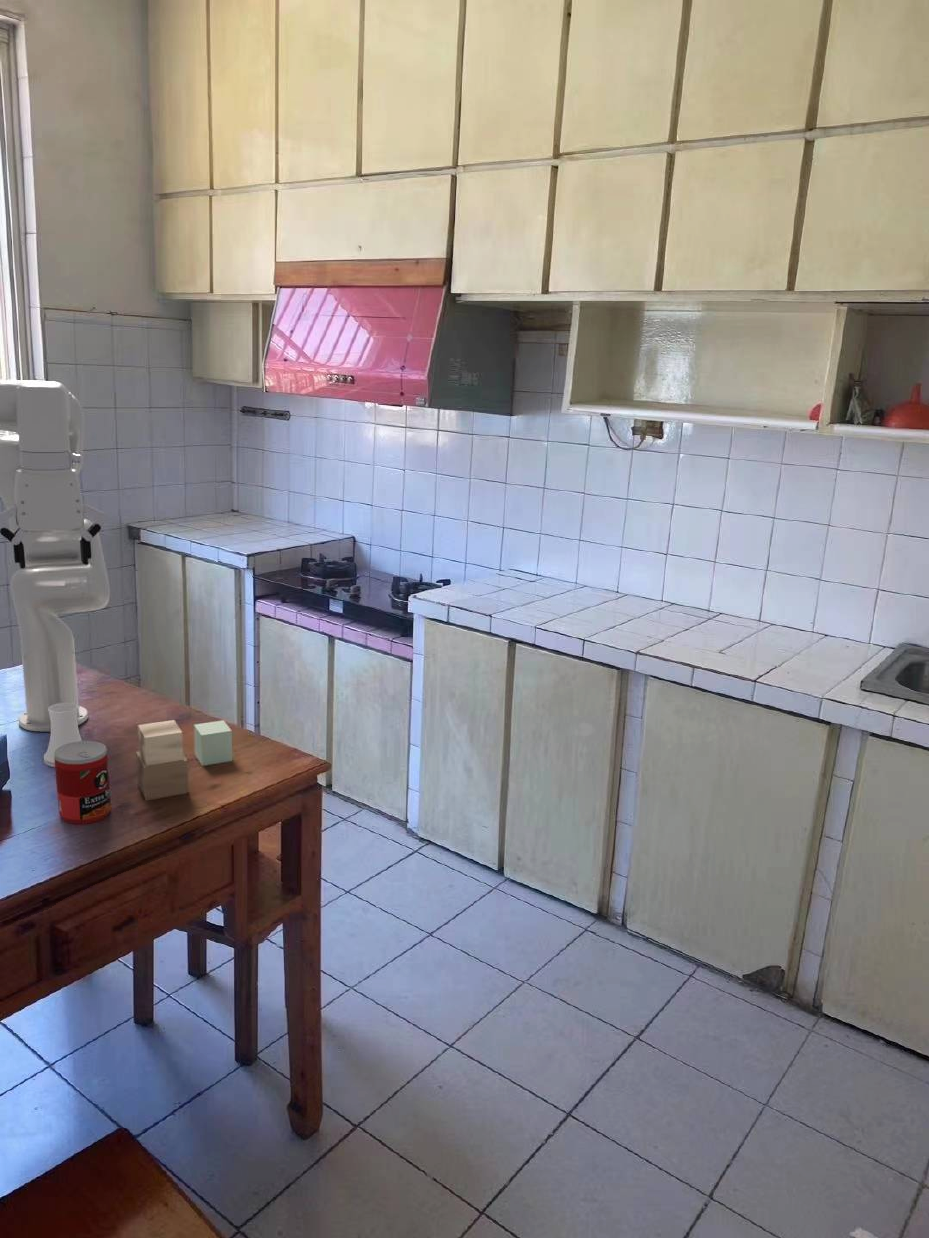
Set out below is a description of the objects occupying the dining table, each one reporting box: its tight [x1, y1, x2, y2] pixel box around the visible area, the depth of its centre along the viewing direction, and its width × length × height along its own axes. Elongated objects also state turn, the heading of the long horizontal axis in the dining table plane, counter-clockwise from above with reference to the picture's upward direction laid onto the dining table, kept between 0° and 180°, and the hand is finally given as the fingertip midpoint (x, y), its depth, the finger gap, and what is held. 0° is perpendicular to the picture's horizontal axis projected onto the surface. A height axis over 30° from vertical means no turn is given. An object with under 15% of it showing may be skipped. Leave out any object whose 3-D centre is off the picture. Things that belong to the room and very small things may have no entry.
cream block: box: [135, 751, 189, 801], centre depth 157 cm, size 7×7×6 cm
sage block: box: [193, 719, 233, 767], centre depth 170 cm, size 6×6×6 cm
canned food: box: [54, 740, 112, 825], centre depth 146 cm, size 8×8×11 cm
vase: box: [43, 703, 83, 768], centre depth 166 cm, size 8×8×10 cm
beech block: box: [137, 719, 184, 766], centre depth 155 cm, size 6×6×5 cm
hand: (54, 565), depth 154 cm, fingers open, 9 cm apart
